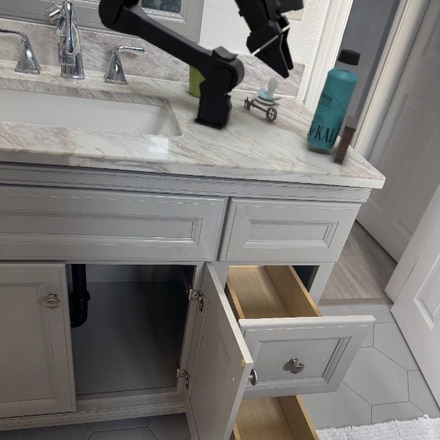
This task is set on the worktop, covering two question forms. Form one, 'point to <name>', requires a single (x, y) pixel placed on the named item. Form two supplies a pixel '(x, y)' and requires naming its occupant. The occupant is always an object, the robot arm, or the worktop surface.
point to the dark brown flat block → (345, 139)
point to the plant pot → (195, 81)
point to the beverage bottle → (333, 102)
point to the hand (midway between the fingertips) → (289, 73)
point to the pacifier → (268, 93)
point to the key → (251, 103)
